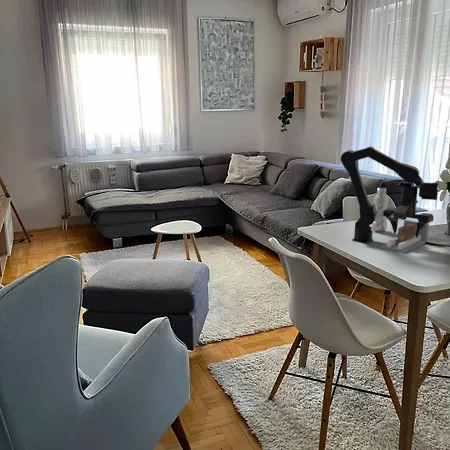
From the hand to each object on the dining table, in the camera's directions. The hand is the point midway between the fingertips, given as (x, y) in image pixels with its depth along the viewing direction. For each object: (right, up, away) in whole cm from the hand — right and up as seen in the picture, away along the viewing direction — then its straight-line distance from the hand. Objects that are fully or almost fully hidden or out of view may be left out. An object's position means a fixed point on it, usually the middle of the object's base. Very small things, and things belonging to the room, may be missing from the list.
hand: (405, 235), depth 182 cm
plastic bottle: (-3, +1, +22) cm, 22 cm away
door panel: (0, -3, +1) cm, 3 cm away
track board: (0, -4, +1) cm, 4 cm away
